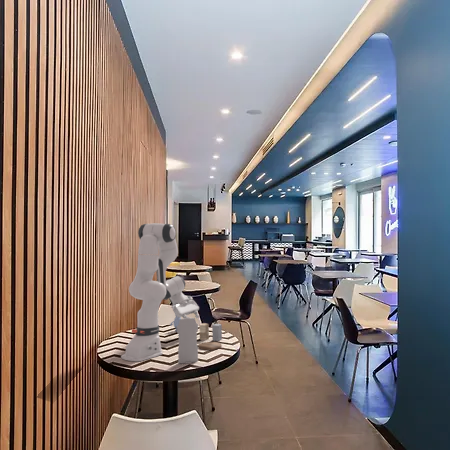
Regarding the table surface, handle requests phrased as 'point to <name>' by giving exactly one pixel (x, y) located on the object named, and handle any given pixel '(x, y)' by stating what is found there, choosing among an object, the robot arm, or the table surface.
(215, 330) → the slate grey block
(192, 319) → the tall pale column
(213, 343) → the walnut board
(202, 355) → the table surface
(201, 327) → the birch block
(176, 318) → the toy figure
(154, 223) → the robot arm
